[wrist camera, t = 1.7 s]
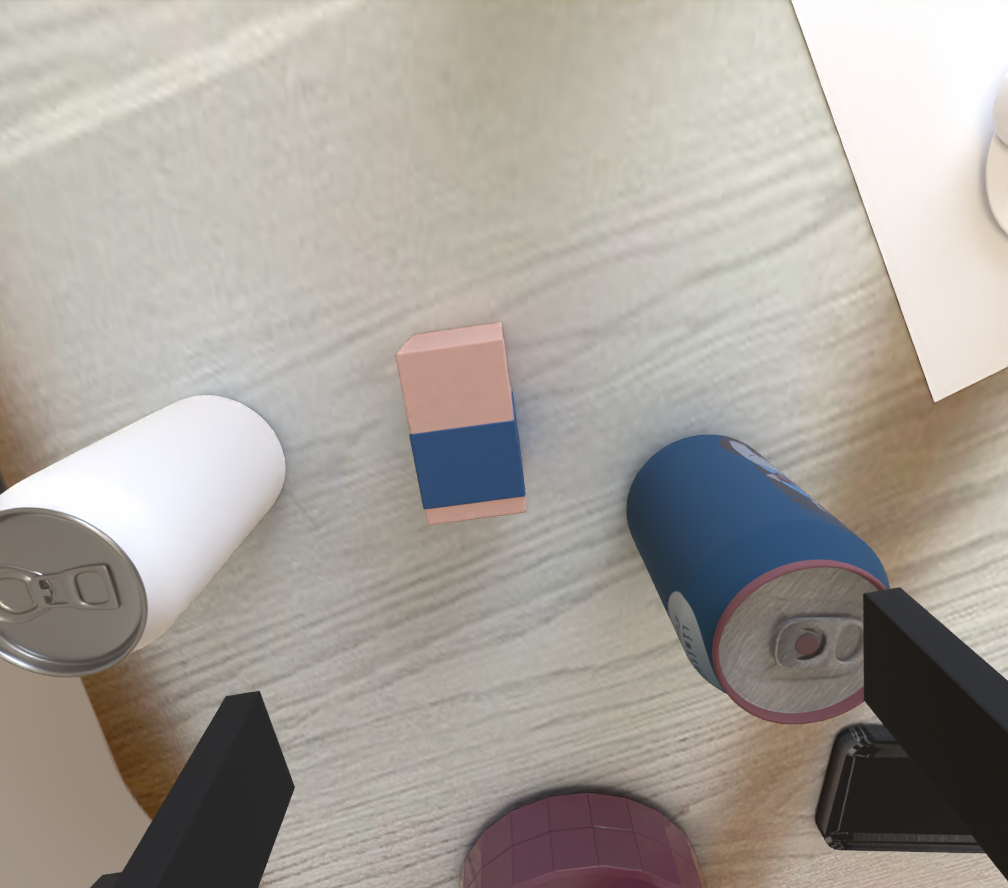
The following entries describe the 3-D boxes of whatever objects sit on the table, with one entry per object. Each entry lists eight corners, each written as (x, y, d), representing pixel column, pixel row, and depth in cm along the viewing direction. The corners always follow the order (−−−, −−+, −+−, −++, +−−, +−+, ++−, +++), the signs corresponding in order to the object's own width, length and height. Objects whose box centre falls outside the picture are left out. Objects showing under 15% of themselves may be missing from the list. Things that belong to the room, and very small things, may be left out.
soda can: (617, 559, 32) (685, 742, 20) (625, 426, 29) (706, 546, 18) (755, 558, 32) (901, 739, 20) (773, 425, 30) (947, 544, 18)
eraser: (438, 480, 30) (426, 526, 25) (411, 334, 28) (393, 354, 23) (523, 468, 30) (528, 513, 25) (502, 321, 28) (504, 338, 23)
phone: (849, 740, 34) (1124, 747, 34) (838, 724, 35) (1105, 732, 35) (820, 851, 36) (1077, 857, 36) (811, 833, 37) (1061, 839, 38)
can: (133, 398, 29) (-106, 504, 17) (274, 385, 29) (126, 484, 17) (169, 527, 31) (-24, 698, 19) (300, 516, 31) (185, 681, 19)
